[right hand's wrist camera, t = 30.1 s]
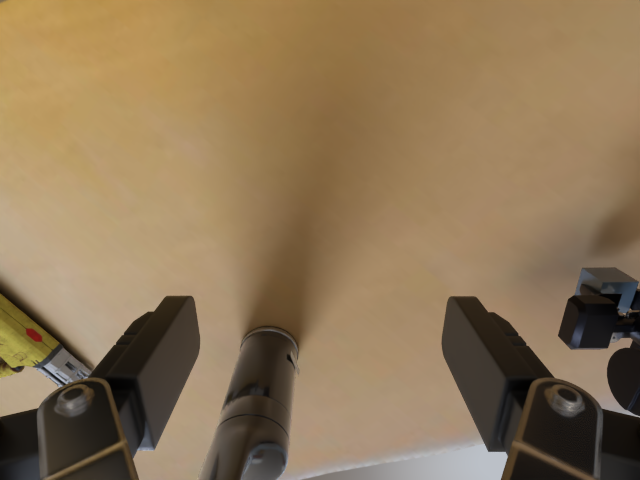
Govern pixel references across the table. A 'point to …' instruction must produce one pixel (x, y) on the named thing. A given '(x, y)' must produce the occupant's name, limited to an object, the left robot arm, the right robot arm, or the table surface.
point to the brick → (610, 284)
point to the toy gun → (34, 348)
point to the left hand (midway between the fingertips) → (599, 286)
